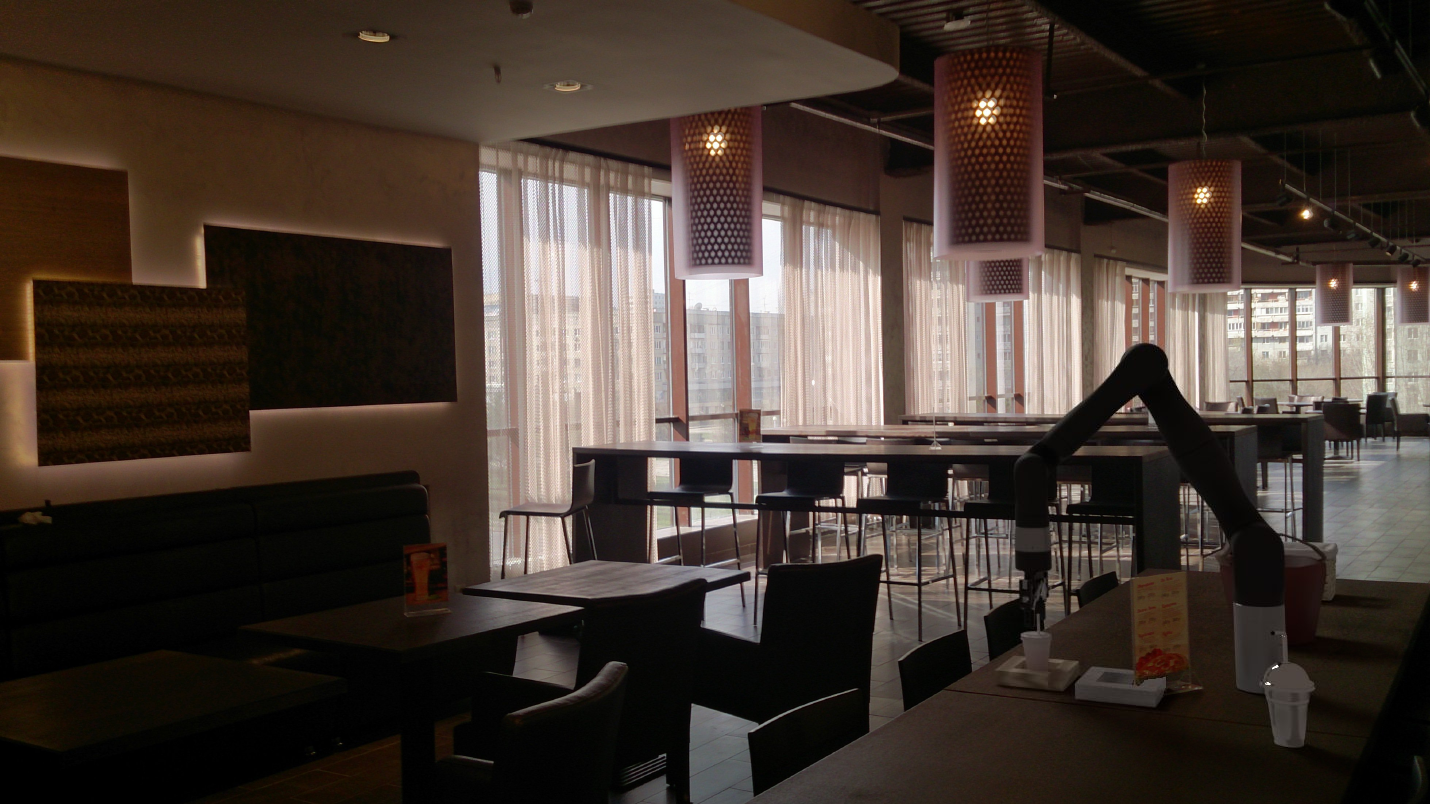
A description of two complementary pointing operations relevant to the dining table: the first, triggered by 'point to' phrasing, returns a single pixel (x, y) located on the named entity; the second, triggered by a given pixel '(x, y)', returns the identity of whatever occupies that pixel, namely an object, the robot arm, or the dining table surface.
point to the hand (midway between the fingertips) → (1034, 623)
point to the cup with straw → (1287, 699)
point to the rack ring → (1118, 687)
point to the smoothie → (1036, 648)
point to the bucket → (1289, 590)
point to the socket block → (1037, 674)
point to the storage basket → (1326, 548)
